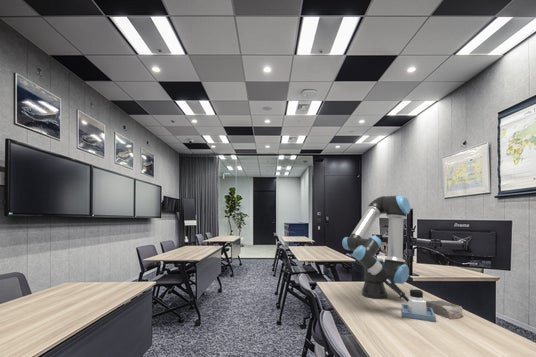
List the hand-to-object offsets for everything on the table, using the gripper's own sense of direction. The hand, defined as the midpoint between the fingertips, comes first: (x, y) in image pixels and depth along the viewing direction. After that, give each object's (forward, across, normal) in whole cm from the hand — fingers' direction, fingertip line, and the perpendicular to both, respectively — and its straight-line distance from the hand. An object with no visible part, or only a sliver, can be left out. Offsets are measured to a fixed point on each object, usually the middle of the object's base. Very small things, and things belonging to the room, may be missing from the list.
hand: (408, 301), depth 150 cm
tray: (+8, 0, -1) cm, 8 cm away
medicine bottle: (+8, 0, -1) cm, 8 cm away
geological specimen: (+19, -5, +9) cm, 22 cm away
